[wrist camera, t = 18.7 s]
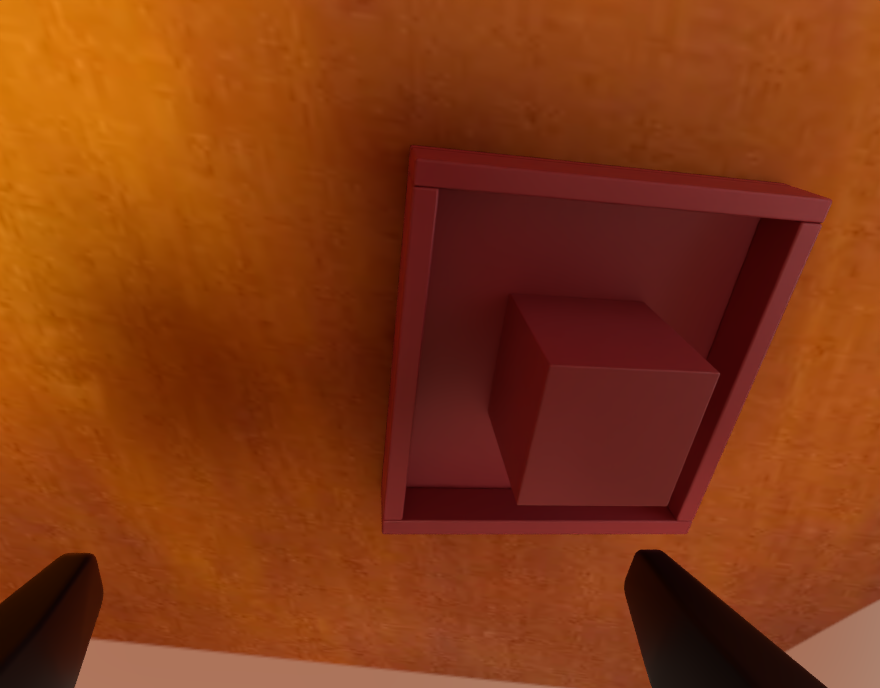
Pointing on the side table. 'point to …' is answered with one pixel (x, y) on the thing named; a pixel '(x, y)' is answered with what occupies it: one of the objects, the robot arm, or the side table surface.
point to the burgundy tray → (570, 275)
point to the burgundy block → (594, 401)
